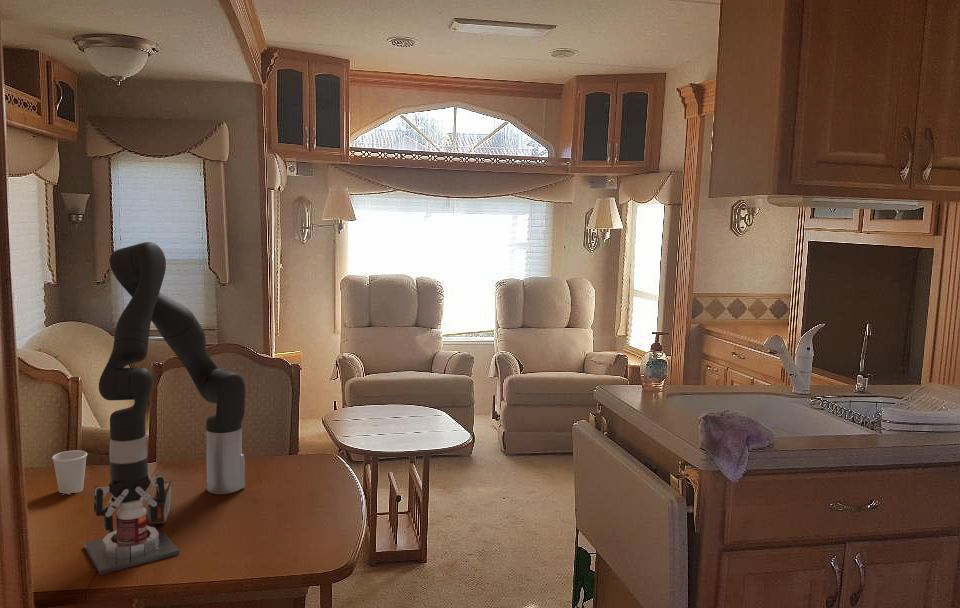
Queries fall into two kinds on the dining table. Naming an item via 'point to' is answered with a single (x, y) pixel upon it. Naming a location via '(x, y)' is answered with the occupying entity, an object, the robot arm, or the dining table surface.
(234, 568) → the dining table surface
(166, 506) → the tin
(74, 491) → the dixie cup
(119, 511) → the pill bottle
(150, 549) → the collar
